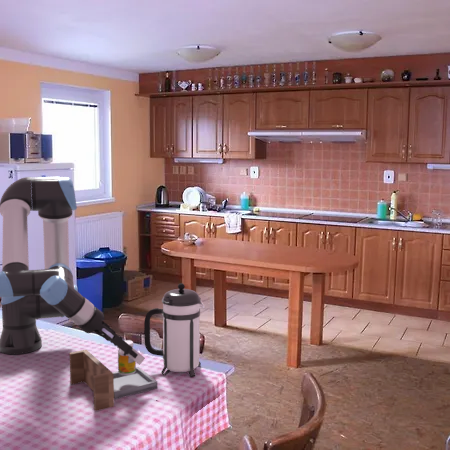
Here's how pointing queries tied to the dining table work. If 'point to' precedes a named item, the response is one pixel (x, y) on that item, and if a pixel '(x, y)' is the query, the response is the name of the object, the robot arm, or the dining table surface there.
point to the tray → (132, 383)
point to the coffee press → (178, 330)
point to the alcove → (93, 377)
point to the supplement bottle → (126, 362)
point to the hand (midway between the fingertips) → (137, 358)
